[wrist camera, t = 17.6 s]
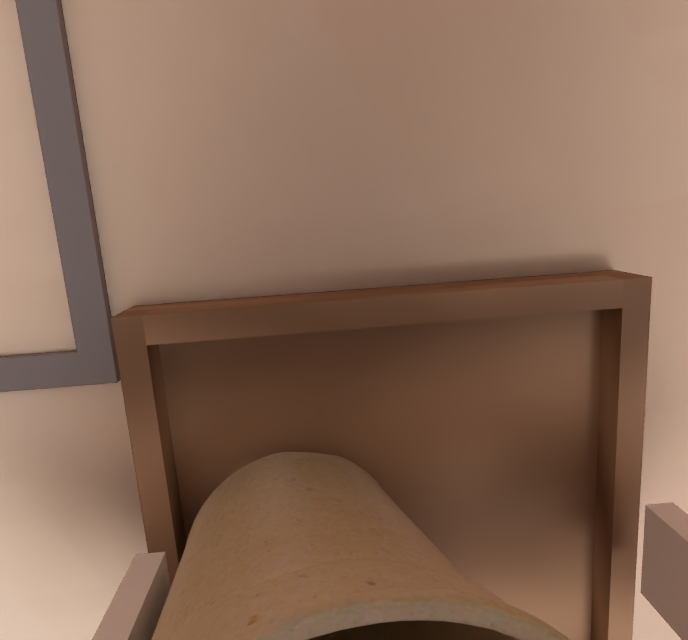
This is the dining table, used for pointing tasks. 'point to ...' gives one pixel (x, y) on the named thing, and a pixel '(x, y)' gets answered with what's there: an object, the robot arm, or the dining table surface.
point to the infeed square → (64, 214)
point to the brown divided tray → (419, 420)
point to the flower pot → (323, 565)
